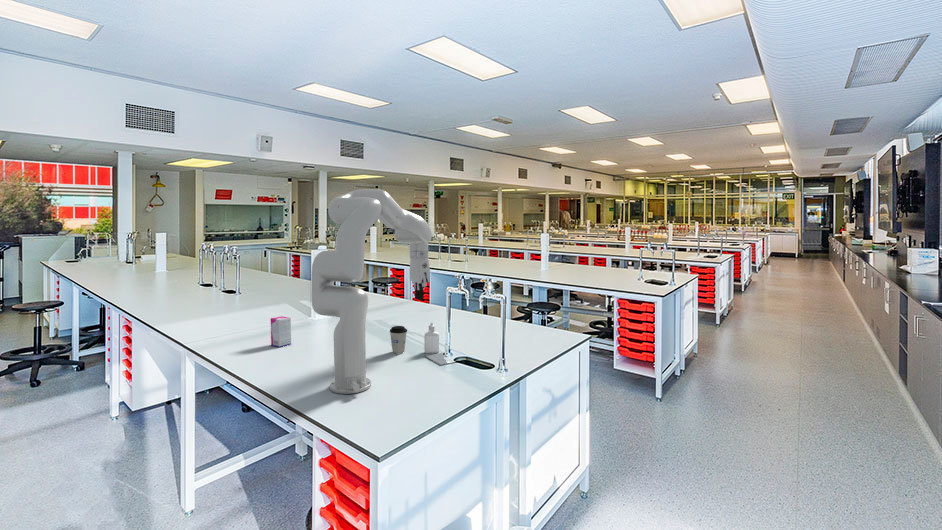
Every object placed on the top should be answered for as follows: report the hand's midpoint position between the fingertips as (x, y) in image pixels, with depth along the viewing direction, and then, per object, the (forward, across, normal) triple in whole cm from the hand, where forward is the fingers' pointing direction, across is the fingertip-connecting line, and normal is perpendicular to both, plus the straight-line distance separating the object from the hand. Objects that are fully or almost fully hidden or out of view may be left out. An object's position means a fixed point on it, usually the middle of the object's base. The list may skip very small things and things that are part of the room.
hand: (419, 299), depth 188 cm
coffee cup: (+20, -4, +12) cm, 23 cm away
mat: (+19, -21, 0) cm, 29 cm away
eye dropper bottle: (+20, -11, 0) cm, 23 cm away
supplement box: (+19, +30, +48) cm, 60 cm away
